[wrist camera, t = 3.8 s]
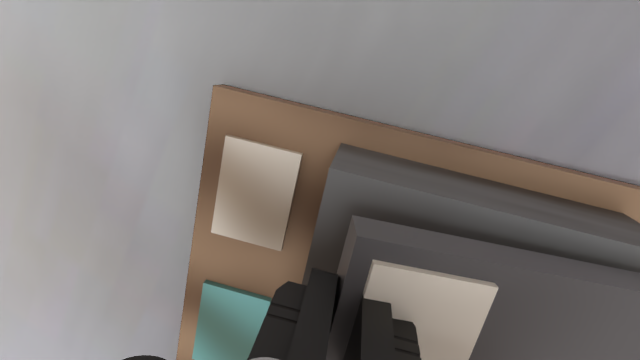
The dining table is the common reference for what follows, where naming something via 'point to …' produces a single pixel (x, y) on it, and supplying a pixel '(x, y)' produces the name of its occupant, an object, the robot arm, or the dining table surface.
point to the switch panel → (314, 181)
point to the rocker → (485, 297)
